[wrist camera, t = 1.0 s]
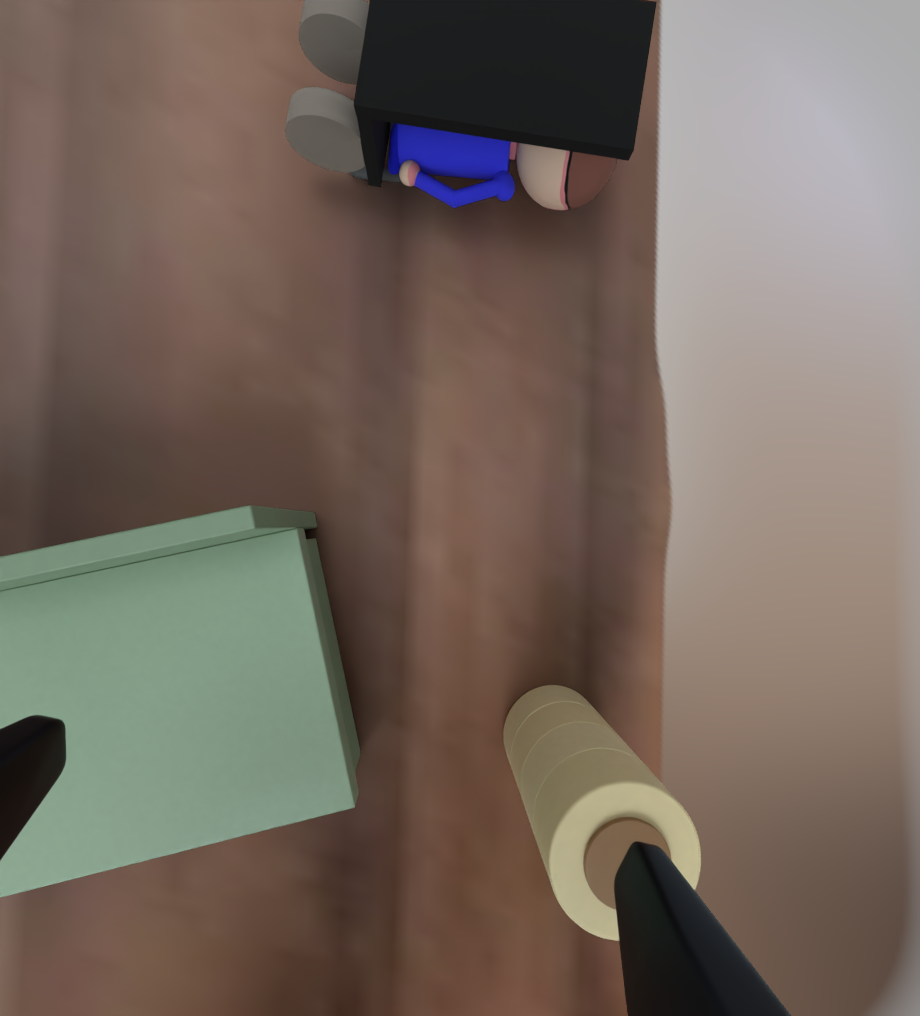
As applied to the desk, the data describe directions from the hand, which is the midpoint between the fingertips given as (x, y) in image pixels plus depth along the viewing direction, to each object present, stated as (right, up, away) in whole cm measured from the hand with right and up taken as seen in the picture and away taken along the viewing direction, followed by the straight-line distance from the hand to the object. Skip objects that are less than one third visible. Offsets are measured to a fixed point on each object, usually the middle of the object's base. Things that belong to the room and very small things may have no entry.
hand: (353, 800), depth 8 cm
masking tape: (+6, -7, +18) cm, 20 cm away
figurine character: (+2, +22, +18) cm, 29 cm away
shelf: (-13, -4, +16) cm, 21 cm away
